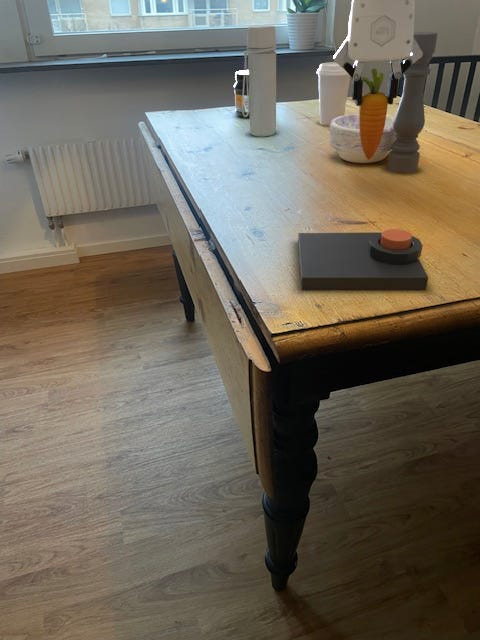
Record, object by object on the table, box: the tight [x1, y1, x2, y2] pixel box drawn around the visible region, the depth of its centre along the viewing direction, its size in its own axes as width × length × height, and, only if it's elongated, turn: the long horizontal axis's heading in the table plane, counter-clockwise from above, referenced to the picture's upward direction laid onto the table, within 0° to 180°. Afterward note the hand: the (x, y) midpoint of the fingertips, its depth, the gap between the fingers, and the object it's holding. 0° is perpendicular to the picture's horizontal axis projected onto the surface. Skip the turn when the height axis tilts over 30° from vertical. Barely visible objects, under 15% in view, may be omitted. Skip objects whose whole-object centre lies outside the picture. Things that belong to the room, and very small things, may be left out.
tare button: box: [380, 228, 413, 250], centre depth 68 cm, size 4×4×2 cm
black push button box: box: [297, 231, 429, 291], centre depth 70 cm, size 16×14×4 cm
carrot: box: [358, 68, 389, 160], centre depth 89 cm, size 5×5×15 cm
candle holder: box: [386, 31, 439, 175], centre depth 98 cm, size 6×6×25 cm
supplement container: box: [233, 69, 250, 119], centre depth 151 cm, size 10×10×12 cm
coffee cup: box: [316, 61, 351, 127], centre depth 138 cm, size 10×10×15 cm
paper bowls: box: [328, 113, 397, 164], centre depth 111 cm, size 15×15×8 cm
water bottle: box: [242, 24, 278, 138], centre depth 127 cm, size 9×8×25 cm
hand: (373, 102), depth 87 cm, fingers closed on carrot, 4 cm apart
